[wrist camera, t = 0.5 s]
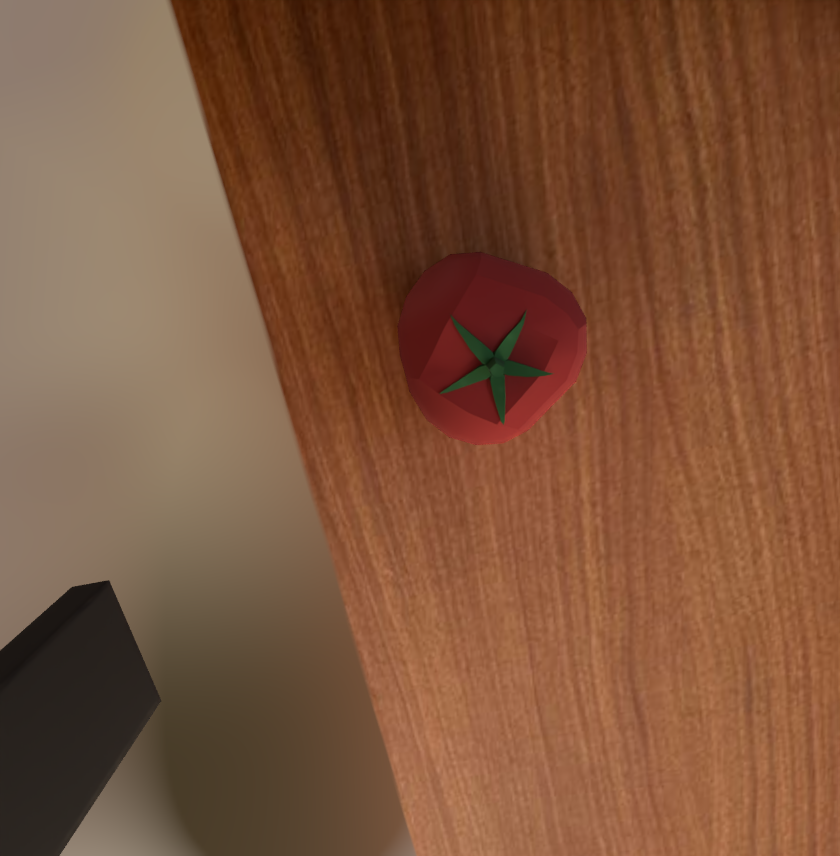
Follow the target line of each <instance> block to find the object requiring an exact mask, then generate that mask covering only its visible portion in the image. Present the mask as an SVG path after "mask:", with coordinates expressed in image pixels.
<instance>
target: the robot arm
mask: <svg viewBox="0 0 840 856" xmlns="http://www.w3.org/2000/svg"><path fill="white" fill-rule="evenodd" d="M160 702H161V699H160V697H159V695H158V692H157V690H156V687H155V685H154V683H153V681H152V678H151V676H150V674H149V671H148V669H147V667H146V664H145V662H144V660H143V657H142V655H141V653H140V651H139V648H138V646H137V644H136V641H135V639H134V637H133V634H132V632H131V630H130V627H129V625H128V623H127V621H126V618H125V616H124V614H123V611H122V609H121V607H120V604H119V602H118V600H117V598H116V595H115V593H114V591H113V588H112V586H111V584H110V581H102V582H97V583H91V584H86V585H81V586H75V587H72V588H70V589H69V590H68V591H67V592H66V593H65V594H64V595H63V596H61V597H60V598H59V599H58V600H57V601H56V602H55V603H53V605H51V606H50V607H49V608H48V609H47V610H46V611H44V612H43V613H42V614H41V615H40V616H39V617H38V618H37V619H35V620H34V621H33V622H32V623H31V624H30V625H29V626H27V627H26V628H25V629H24V630H23V631H22V632H21V633H20V634H19V635H17V636H16V637H15V638H14V639H13V640H12V641H11V642H10V643H9V644H7V645H6V646H5V647H4V648H3V649H2V650H1V651H0V856H59V855H60V854H61V852H62V851H63V849H64V848H65V846H66V845H67V843H68V842H69V840H70V838H71V837H72V836H73V834H74V833H75V831H76V829H77V828H78V827H79V825H80V824H81V822H82V821H83V819H84V817H85V816H86V814H87V813H88V811H89V810H90V808H91V807H92V805H93V804H94V802H95V801H96V799H97V797H98V796H99V795H100V793H101V792H102V790H103V789H104V787H105V785H106V784H107V782H108V781H109V779H110V778H111V776H112V775H113V773H114V772H115V770H116V769H117V767H118V765H119V764H120V763H121V761H122V760H123V758H124V757H125V755H126V754H127V752H128V750H129V749H130V747H131V746H132V744H133V743H134V741H135V740H136V738H137V737H138V735H139V734H140V732H141V731H142V729H143V728H144V726H145V725H146V723H147V722H148V720H149V719H150V717H151V715H152V714H153V712H154V711H155V709H156V708H157V706H158V705H159V703H160Z"/></svg>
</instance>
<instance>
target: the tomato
mask: <svg viewBox="0 0 840 856" xmlns="http://www.w3.org/2000/svg"><path fill="white" fill-rule="evenodd" d="M398 338H399V350H400V357H401V361H402V364H403V368H404V371H405V375H406V379H407V383H408V387H409V391H410V393H411V395H412V397H413V398H414V400H415V401H416V403H417V405H418V406H419V408H420V410H421V411H422V413H423V415H424V416H425V418H426V419H427V420H428V421H429V422H430V423H432V424H433V425H434V426H436V427H437V428H438V429H439V430H441V431H442V432H443V433H445V434H446V435H447V436H449V437H451V438H454V439H457V440H461V441H464V442H468V443H471V444H475V445H483V444H497V443H505V442H506V441H508V440H510V439H512V438H514V437H516V436H518V435H520V434H522V433H524V432H526V431H528V430H529V429H530V428H531V427H532V426H533V425H534V424H535V423H536V422H537V421H538V420H539V419H540V418H541V416H542V415H543V414H544V413H545V412H546V411H547V410H548V409H549V408H550V407H551V406H552V405H553V404H554V403H555V402H556V401H557V400H558V399H559V398H560V397H561V396H562V395H563V394H564V393H565V392H566V391H567V390H568V389H569V388H570V387H571V386H572V385H573V384H574V383H575V382H576V380H577V377H578V375H579V372H580V369H581V367H582V364H583V361H584V359H585V356H586V353H587V336H586V317H585V315H584V314H583V312H582V310H581V308H580V306H579V304H578V303H577V301H576V299H575V297H574V295H573V294H572V292H571V291H569V290H568V289H567V288H566V287H564V286H563V285H562V284H561V283H559V282H558V281H557V280H556V279H554V278H553V277H552V276H550V275H549V274H548V273H546V272H542V271H539V270H536V269H533V268H530V267H527V266H523V265H520V264H517V263H514V262H511V261H508V260H504V259H501V258H498V257H495V256H492V255H489V254H485V253H482V252H475V253H461V254H450V255H449V256H447V257H445V258H444V259H442V260H441V261H439V262H438V263H436V264H435V265H433V266H431V267H430V268H428V269H427V270H425V271H424V273H423V274H422V275H421V277H420V278H419V279H418V281H417V282H416V284H415V285H414V286H413V288H412V289H411V291H410V292H409V293H408V295H407V296H406V299H405V303H404V306H403V309H402V313H401V316H400V319H399V323H398Z"/></svg>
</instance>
